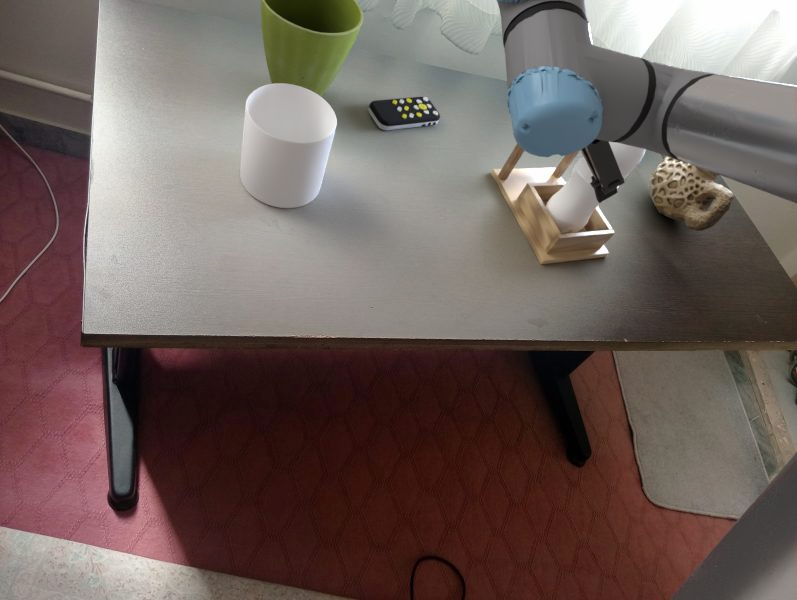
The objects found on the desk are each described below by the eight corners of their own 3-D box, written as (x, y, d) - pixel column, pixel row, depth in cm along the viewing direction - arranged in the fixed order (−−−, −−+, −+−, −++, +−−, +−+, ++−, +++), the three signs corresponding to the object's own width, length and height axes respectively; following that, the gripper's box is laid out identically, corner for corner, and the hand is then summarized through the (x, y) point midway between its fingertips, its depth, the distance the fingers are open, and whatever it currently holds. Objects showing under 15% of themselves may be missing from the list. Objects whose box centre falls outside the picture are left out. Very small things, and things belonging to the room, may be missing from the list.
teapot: (623, 165, 108) (676, 104, 97) (671, 177, 111) (727, 118, 100) (654, 248, 97) (718, 189, 85) (707, 258, 100) (775, 203, 88)
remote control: (364, 108, 94) (367, 98, 92) (424, 102, 100) (427, 93, 98) (380, 132, 91) (383, 123, 90) (440, 125, 98) (444, 116, 96)
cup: (295, 143, 84) (308, 77, 74) (335, 196, 80) (354, 133, 71) (225, 160, 78) (228, 89, 68) (264, 218, 74) (274, 152, 65)
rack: (608, 256, 91) (700, 163, 75) (538, 264, 85) (621, 165, 68) (555, 171, 100) (626, 71, 84) (488, 173, 94) (551, 65, 77)
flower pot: (352, 90, 96) (375, 2, 83) (324, 138, 87) (345, 47, 74) (272, 55, 94) (284, -40, 82) (235, 100, 85) (242, 1, 73)
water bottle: (544, 237, 88) (644, 112, 68) (534, 204, 92) (626, 77, 72) (582, 242, 90) (689, 122, 70) (570, 210, 94) (670, 88, 74)
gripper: (480, 17, 66) (520, 116, 84) (582, 163, 55) (602, 241, 73) (536, -23, 64) (564, 88, 82) (653, 121, 53) (655, 212, 71)
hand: (582, 160), depth 78 cm, fingers open, 13 cm apart
